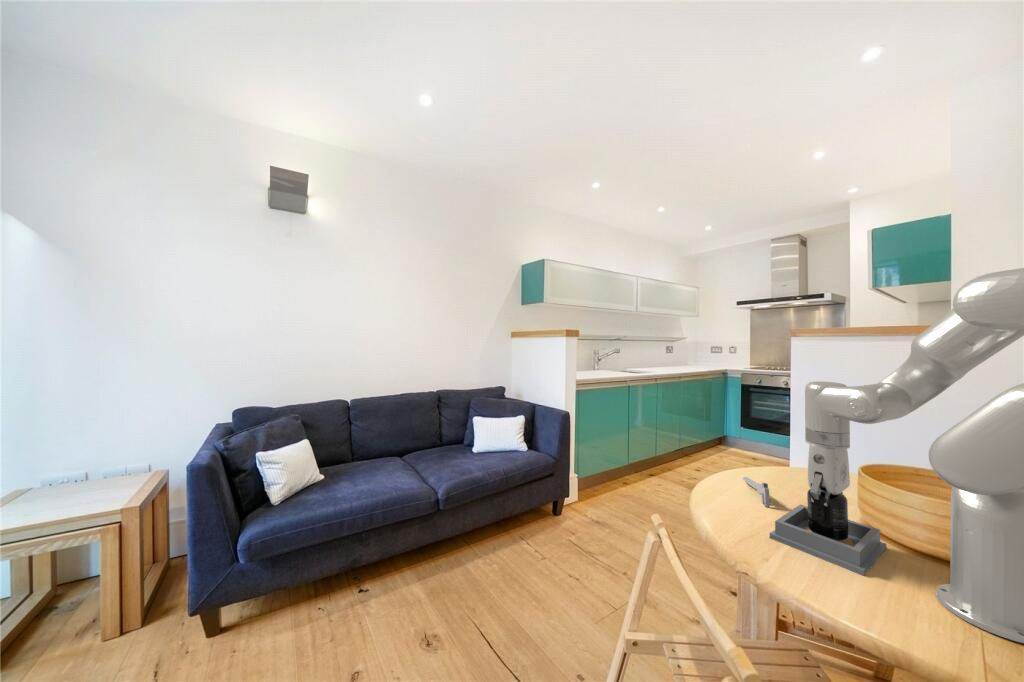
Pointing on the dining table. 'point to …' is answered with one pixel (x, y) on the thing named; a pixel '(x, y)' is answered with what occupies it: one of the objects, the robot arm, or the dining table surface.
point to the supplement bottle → (838, 517)
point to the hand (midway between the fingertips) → (827, 516)
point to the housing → (831, 541)
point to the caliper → (760, 490)
